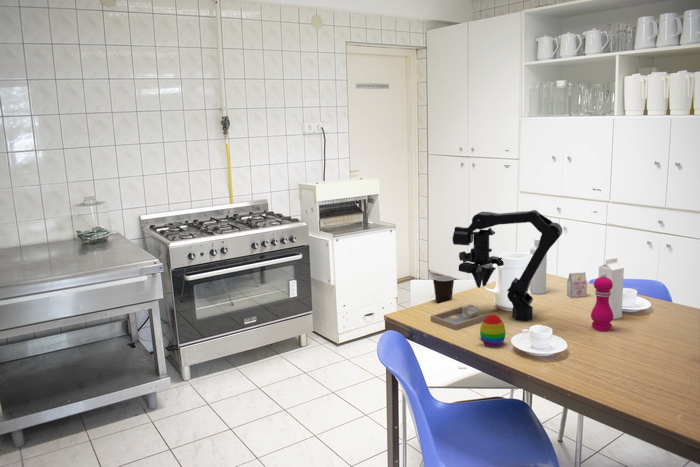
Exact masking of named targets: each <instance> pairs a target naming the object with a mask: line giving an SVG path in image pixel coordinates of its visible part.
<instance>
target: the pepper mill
mask: <svg viewBox="0 0 700 467" xmlns="http://www.w3.org/2000/svg"><path fill="white" fill-rule="evenodd" d="M593 287H594V289H595V290H594V291H595V292H594V294H595V296H596V300H595V304H594V306H593V308H592V310H591V312H590V319H591V320H592V322H591V328H592V330H595V331H598V332H609V331H611V330H612V323H611V322H613V321H614V320H613V312H612V310H611V308H610V305H609V296H611V291H610V290H611V289H612V287H613V283H612V281H611V280H610V279H609V278H607V277H606V274H605V273H602V274H601V277H599V276H598V277H596V279H595V280H594V281H593Z"/></svg>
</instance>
